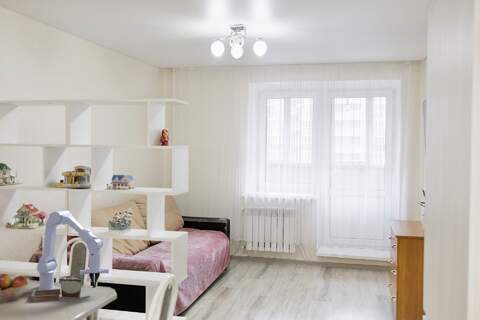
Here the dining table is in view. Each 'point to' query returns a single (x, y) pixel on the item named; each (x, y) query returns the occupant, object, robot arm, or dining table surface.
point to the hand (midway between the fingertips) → (94, 287)
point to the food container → (71, 286)
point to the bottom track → (45, 295)
